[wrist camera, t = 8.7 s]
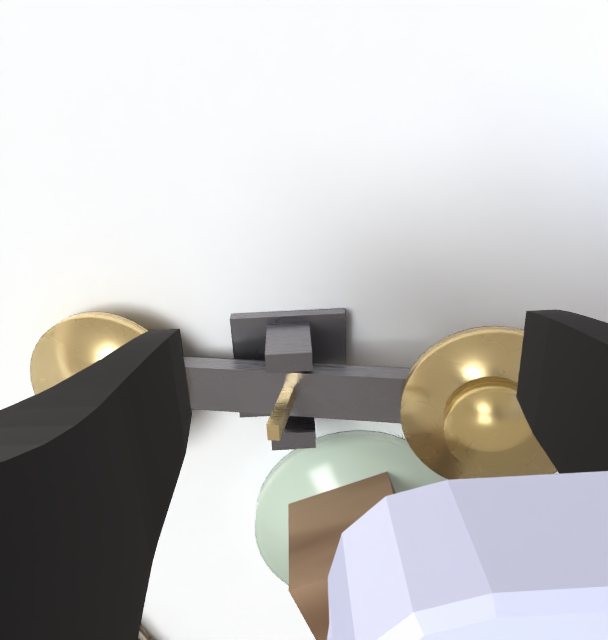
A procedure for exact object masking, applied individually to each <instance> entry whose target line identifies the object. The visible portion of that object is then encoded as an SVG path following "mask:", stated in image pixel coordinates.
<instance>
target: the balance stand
mask: <svg viewBox="0 0 608 640" xmlns="http://www.w3.org/2000/svg"><path fill="white" fill-rule="evenodd" d="M230 324H231V334H232V344H233V353H234V359H238V360H258V361H265V364H266V373H280V372H300V371H313V365H312V363H317V364H337V365H346V321H345V310H344V308H340V309H320V310H301V311H281V312H261V313H242V314H231V317H230ZM270 415H271V414H258V413H244V412H240V417H257V416H270ZM306 448H316V437H315V422H314V417H302V416H289V418H288V421H287V423H286V426H285V428H284V431H283V434H282V436H281V439H280V441H276V440H272V450H287V449H306Z"/></svg>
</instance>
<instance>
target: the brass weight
mask: <svg viewBox="0 0 608 640" xmlns="http://www.w3.org/2000/svg"><path fill="white" fill-rule="evenodd" d="M517 385H518V383H517V382H515V381H513V380H510V379H507V378H503V377H496V376H487V377H480V378H476V379H473V380H470V381H468V382H466V383H464V384H462V385H461V386H459V387H458V388H457V389H456V390H454V392H453V393H452V394H451V395H450V397H449V398H448V400H447V402H446V404H445V407H444V433H445V440H446V443H447V446H448V448H449V450H450V451H451V452H452V454H453V455H454V456H455V457H456V458H457V459H458V460H459V461H460V462H462V463H463V464H465V465H467V466H469V467H471V468H473V469H476V470H480V471H484V472H505V471H510V470H513V469H516V468H519V467H521V466H523V465H525V464H526V463H528V462H529V461H530V460H531V459H533V458H534V457H535V456H536V454H537V453H538V452H539V450H540V448H541V445H540V444H539V442H538V441H537V439H536V438H535V436H534V434H533V433H532V430H531V428H530V426H529V424H528V422H527V420H526V418H525V416H524V414H523V411H522V409H521V407H520V405H519V402H518V400H517V398H516V393H517Z"/></svg>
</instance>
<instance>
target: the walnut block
mask: <svg viewBox="0 0 608 640" xmlns="http://www.w3.org/2000/svg"><path fill="white" fill-rule="evenodd" d="M392 494H396V492H395V490H394V487H393V485H392V482H391V480H390V477H389V475H388V473H387V472H384V473H381V474H378V475H375V476H372V477H369V478H366V479H363V480H360V481H357V482H354V483H350V484H347V485H344V486H341V487H338V488H335V489H332V490H329V491H326V492H323V493H320V494H317V495H314V496H311V497H308V498H305V499H302V500H299V501H296V502H293V503H290V504H288V535H289V592H290V594H291V595H292V597H293V599H294V601H295V603H296V604H297V606H298V608H299V610H300V612H301V613H302V615H303V617H304V619H305V621H306V622H307V624H308V626H309V628H310V630H311V631H312V633H313V635H314V637H315V639H316V640H327V636H328V629H329V599H328V575H329V572H330V569H331V566H332V563H333V559H334V556H335V553H336V550H337V547H338V544H339V541H340V538H341V534H342V532H344V531H345V530H346V529H347V528H348V527H350V526H351V525H352V524H353V523H354V522H356V521H357V520H358V519H359V518H360V517H362V516H363V515H364V514H365V513H366V512H367V511H369V510H370V509H371V508H372V507H373V506H375V505H376V504H377V503H378V502H379V501H381V500H382V499H383V498H384V497H385V496H389V495H392Z"/></svg>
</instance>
